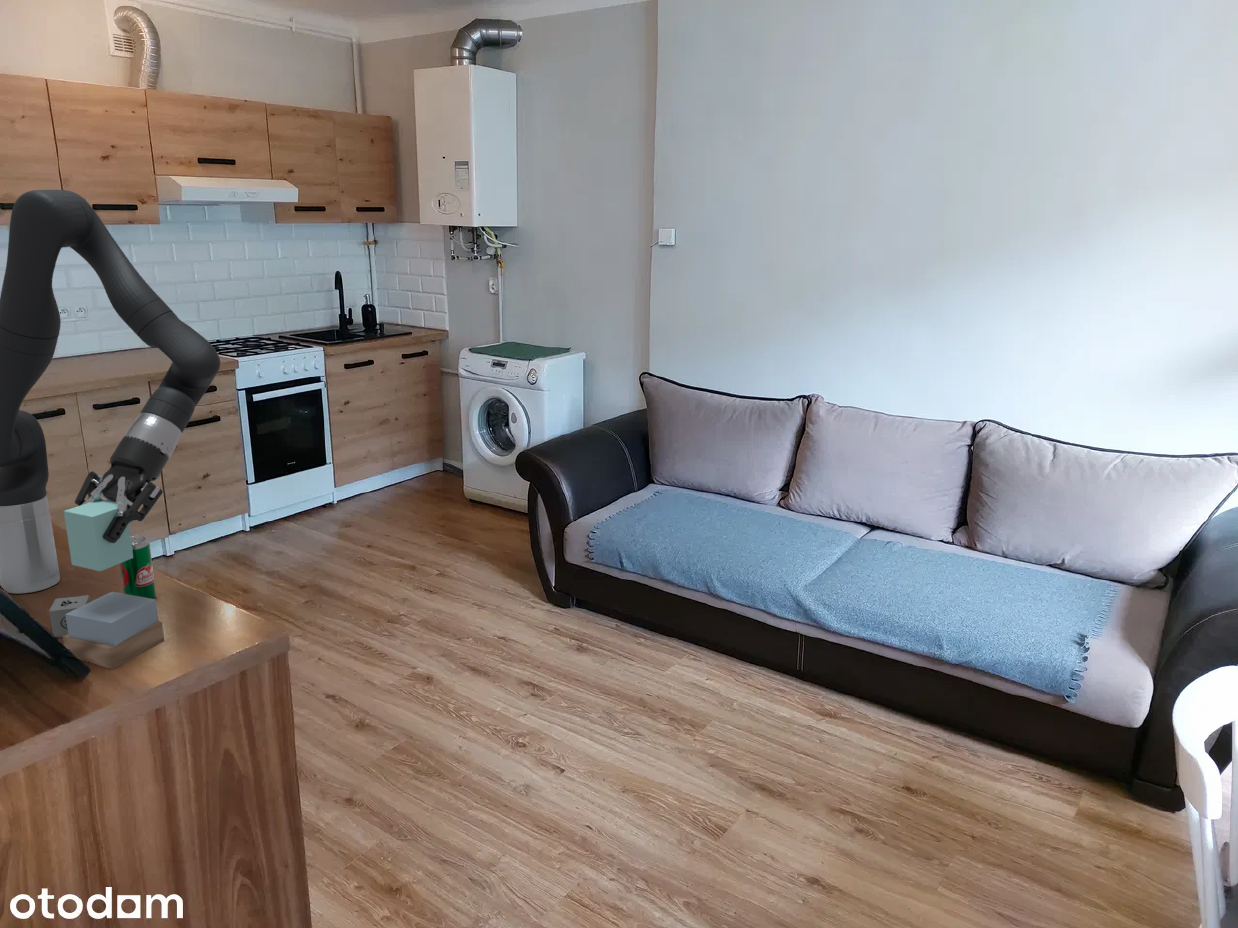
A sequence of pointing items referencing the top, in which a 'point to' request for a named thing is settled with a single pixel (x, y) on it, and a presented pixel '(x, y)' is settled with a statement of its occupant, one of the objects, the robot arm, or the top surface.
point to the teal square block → (95, 536)
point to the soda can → (139, 570)
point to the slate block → (112, 618)
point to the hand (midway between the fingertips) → (92, 537)
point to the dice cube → (64, 612)
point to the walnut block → (116, 647)
